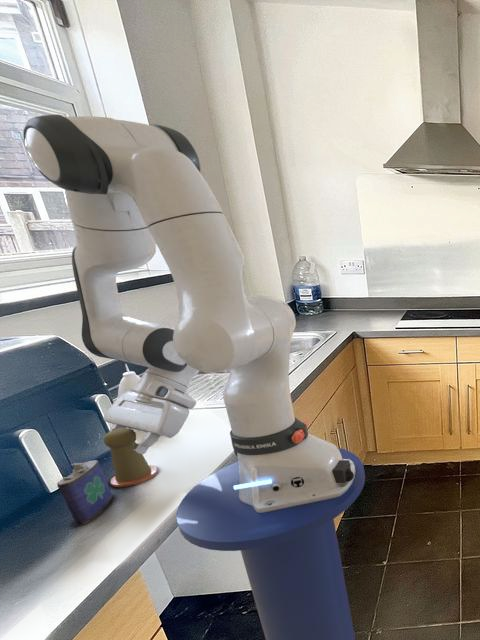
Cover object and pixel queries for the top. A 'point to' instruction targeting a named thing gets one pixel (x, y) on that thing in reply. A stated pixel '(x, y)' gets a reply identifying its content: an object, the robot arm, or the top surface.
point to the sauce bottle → (128, 381)
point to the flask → (85, 491)
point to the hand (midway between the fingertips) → (124, 449)
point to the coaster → (137, 481)
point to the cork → (126, 455)
